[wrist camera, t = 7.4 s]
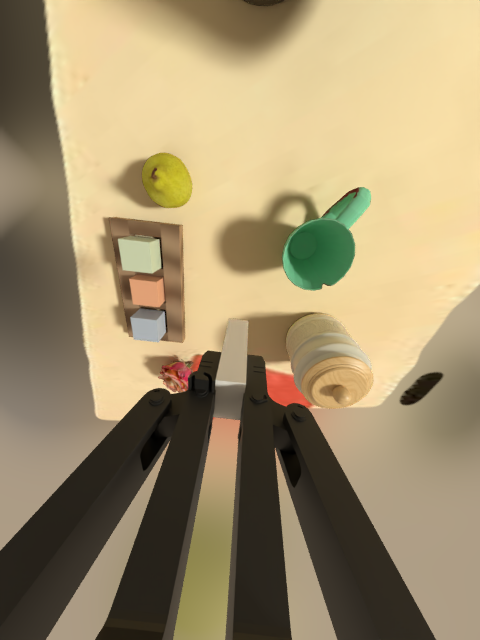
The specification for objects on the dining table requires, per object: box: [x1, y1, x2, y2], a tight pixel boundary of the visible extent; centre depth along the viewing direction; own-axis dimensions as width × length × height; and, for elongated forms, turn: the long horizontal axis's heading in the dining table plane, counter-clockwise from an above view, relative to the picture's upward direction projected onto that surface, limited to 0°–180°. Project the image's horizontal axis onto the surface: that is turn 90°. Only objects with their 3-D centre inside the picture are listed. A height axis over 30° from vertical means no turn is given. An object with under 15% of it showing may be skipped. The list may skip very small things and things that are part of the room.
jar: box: [286, 313, 373, 409], centre depth 39 cm, size 13×13×18 cm
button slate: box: [130, 308, 166, 342], centre depth 43 cm, size 5×5×4 cm
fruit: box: [142, 153, 192, 208], centre depth 29 cm, size 7×7×12 cm
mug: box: [282, 187, 371, 291], centre depth 33 cm, size 15×10×10 cm
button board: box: [109, 217, 185, 343], centre depth 42 cm, size 24×12×2 cm, turn 174°
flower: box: [158, 358, 193, 393], centre depth 50 cm, size 10×9×8 cm
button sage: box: [118, 236, 161, 273], centre depth 36 cm, size 5×5×4 cm
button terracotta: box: [129, 274, 166, 307], centre depth 41 cm, size 5×5×4 cm
